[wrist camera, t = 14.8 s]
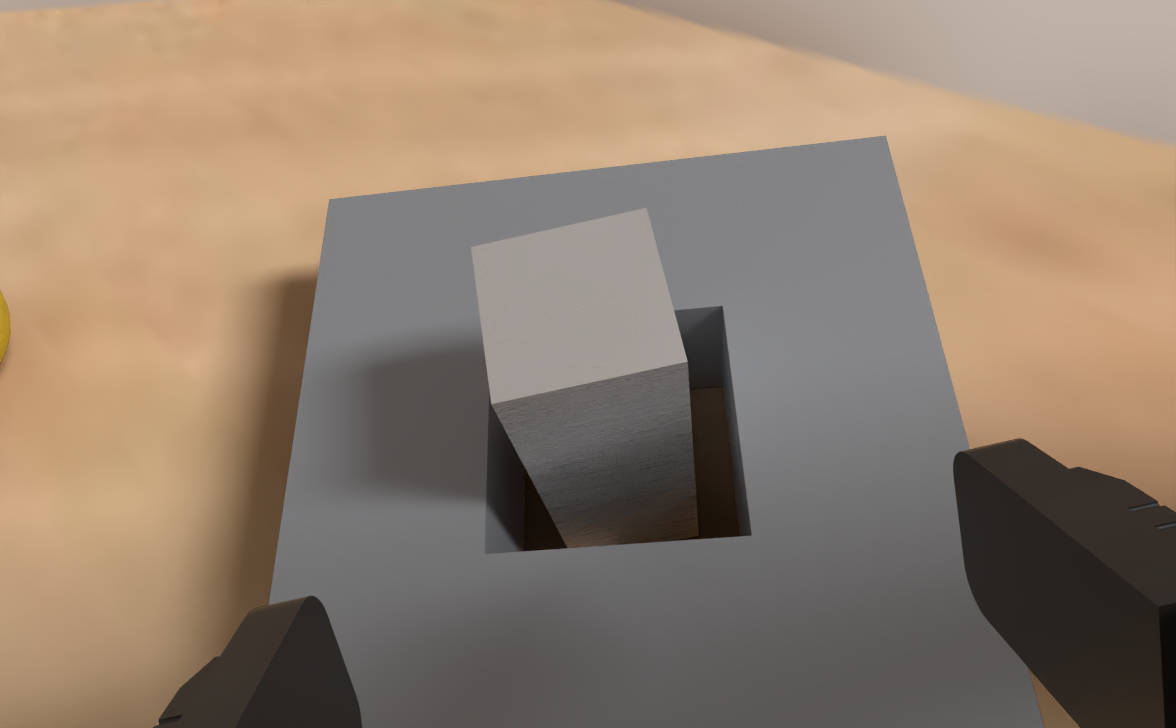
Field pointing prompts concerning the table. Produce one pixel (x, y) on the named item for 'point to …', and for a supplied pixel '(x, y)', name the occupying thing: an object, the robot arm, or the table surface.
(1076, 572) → the robot arm
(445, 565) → the well block
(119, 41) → the table surface
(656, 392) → the steel bar
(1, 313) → the lemon
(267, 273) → the table surface
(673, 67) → the table surface
